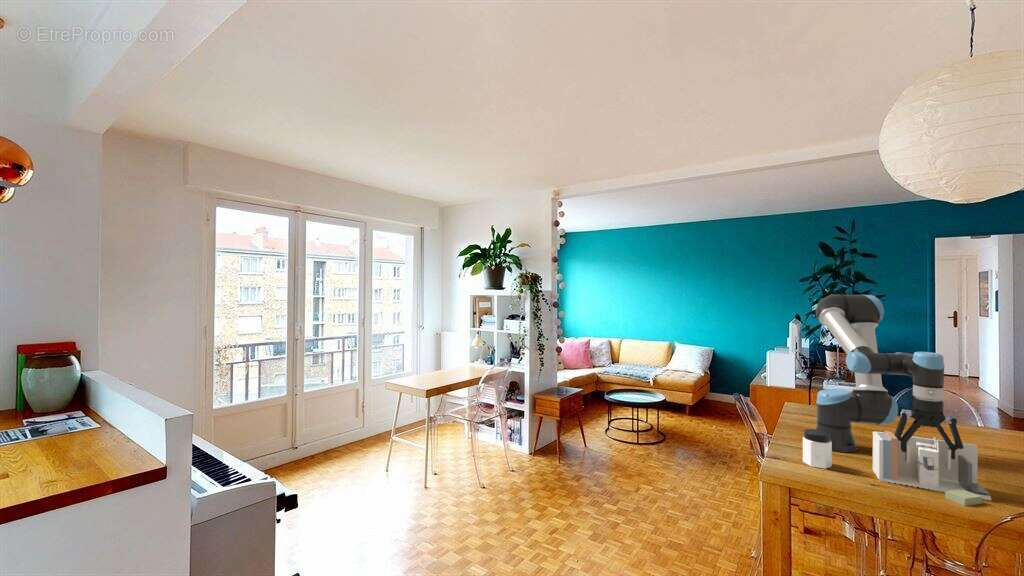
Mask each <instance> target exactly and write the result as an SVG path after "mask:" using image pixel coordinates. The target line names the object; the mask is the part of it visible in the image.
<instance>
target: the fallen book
mask: <svg viewBox="0 0 1024 576" xmlns="http://www.w3.org/2000/svg"><path fill="white" fill-rule="evenodd" d="M944 494H945V495H944V499H946V500H950V501H952V502H955V503H957V504H959V505H962V506H965V507H966V506H973V505H980V504H981V505H982V504H983V499H982V496H979V495H977V494H974V493H971V492H969V491H966V490H963V489H959V490H951V491H945V492H944Z"/></svg>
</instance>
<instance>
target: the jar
mask: <svg viewBox="0 0 1024 576" xmlns="http://www.w3.org/2000/svg"><path fill="white" fill-rule="evenodd" d="M832 455H833V451H832V441H830V434H829V433H828V432H825V431H822V430H817V429H815V428H806V429H804V430H803V437H802V462H803V463H804V464H806V465H808V466H809V467H813V468H819V469H823V470H826V469H828V468H829V469H830V468H831V467H832V465H833V463H832V462H833V460H832V459H833V456H832Z"/></svg>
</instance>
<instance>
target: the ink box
mask: <svg viewBox="0 0 1024 576" xmlns="http://www.w3.org/2000/svg"><path fill="white" fill-rule="evenodd" d="M933 439H934V445H931V444H925V443H920V442H916V476H917V478H918V481H919V484H924V485H929V486H934V487H939V446H938V441H937V440H938V439H937V438H936V437H935V436H933ZM936 439H937V440H936ZM936 443H937V444H936Z"/></svg>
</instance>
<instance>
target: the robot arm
mask: <svg viewBox="0 0 1024 576" xmlns="http://www.w3.org/2000/svg"><path fill="white" fill-rule="evenodd" d="M815 315H816V319H817V320H818V321H819V323H820V324H821V325H822V326H824V327H826V328H827V329H828V331H829V332H830V333H831V335H832V336H833V337H834V338H835V340H836V342H838V345H840V346H841V348H842V350H843V351H844V352H845V353H846V356H845V364H846V367H847V369H848V370H849V371H850V372H852V373H854V379H855V386H854V387H853V388H852V390H848V389H845V388H844V389H843V388H826V389H821V390H819V391H818V392H817V396H816V401H815V402H816V426H815V428H814V429H817V430H822V431H825V432H828V433H829V434H830V441H832V452H838V453H840V452H841V453H854V452H857V451H858V448H857V446H858V445H857V442H856V439H855V437H854V434H853V431H852V424H853V423H855V424H857V423H858V424H870V425H889V424H892V423H893V422H894V421H895V420H896V419H897V416H898V412H899V411H898V410H899V406H898V402H897V401H896V398H895V397H894V396H892V395H890V394H889V391H888V389H886V388H885V387H884V386H883V382H882V375H894V376H895V375H896V376H897V375H898V376H901V375H902V376H909V377H912V396H914V397H912V410H911V411H910V412H909V411H907V412H906V411H903V410H902V411H900V412H899V413H900V414H899V415H900V418H899V422H898V423H897V426H896V429H895V431H894V433H893V434H894V435H895V436H896V437H897V439H898V440H899V441H901V450H902V452H905V461H906V462H907V463H910V444H909V443H908V440H909V439H910V438H911V437H912V436H914V434H915V433H916V432H917V431H918V429H920V428H921V427H929V428H936V430H937V431H938V433H939V434H940V436H941V437H942V440H944V441H945V442H946V443H947V445H948V446H949V448H948V447H945V467H946V468H947V469H950V470H951V459H955V451H956V450H957V449H963V445H962V443H963V442H962V439H961V435H960V432H959V430H958V427H957V423H958V421H957V419H956V418H955V417H954V416H945V414H944V401H943V400H944V382H945V362H944V355H942V354H941V353H938V352H931V351H930V352H929V351H915V352H914V353H913V354H912V353H908V352H902V351H901V352H894V353H888V352H887V353H884V352H878V351H879V350H878V343H877V337H876V330H875V329H876V328H877V327H878V326H879V322H881V321H882V320H883V319H884V315H885V309H884V306H883V303H882V302H881V300H880V299H879V298H878V297H877V296H875V295H872V294H830V295H828V296H825V297H824V298H822V299H821V300H819V301H818V304H817V305H816V307H815ZM851 391H852V392H851ZM910 418H913V419H914V420H913V421H912V423H911V425H910V426H909V427H908V429H907V430H906V431H905V433H904V430H905V427H906V424H907V423H908V420H909V419H910ZM944 421H945V422H946V423H947V424H948V426H949V430H950V432H951V435H952V437H953V441H952V440H951V439H950V436H949V435H948V434H947V433H946V431H945V430H944V427H943V426H942V425H941V424H942V423H943V422H944ZM901 435H903V436H902V437H901ZM951 441H952V442H955V444H953V443H952V442H951Z"/></svg>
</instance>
